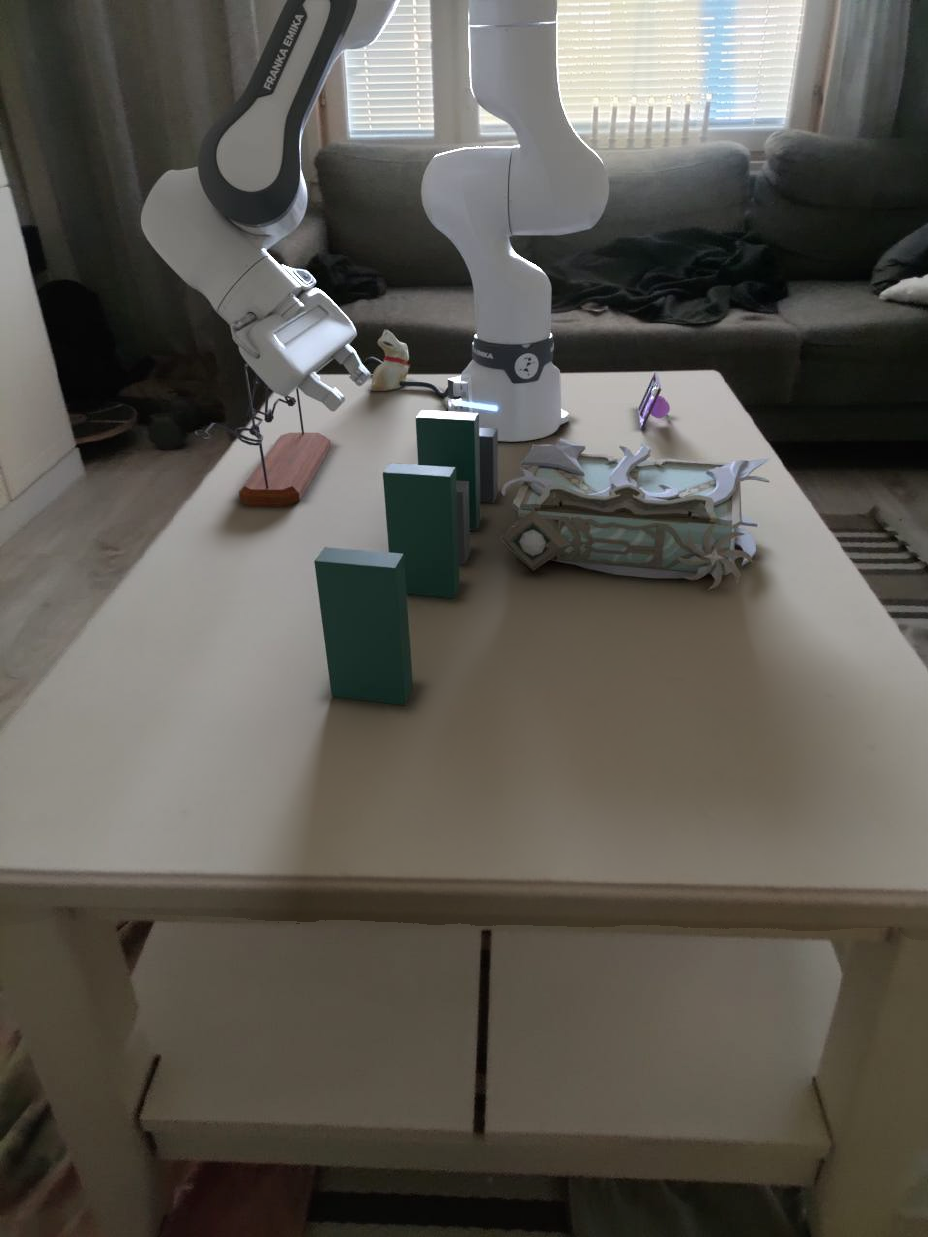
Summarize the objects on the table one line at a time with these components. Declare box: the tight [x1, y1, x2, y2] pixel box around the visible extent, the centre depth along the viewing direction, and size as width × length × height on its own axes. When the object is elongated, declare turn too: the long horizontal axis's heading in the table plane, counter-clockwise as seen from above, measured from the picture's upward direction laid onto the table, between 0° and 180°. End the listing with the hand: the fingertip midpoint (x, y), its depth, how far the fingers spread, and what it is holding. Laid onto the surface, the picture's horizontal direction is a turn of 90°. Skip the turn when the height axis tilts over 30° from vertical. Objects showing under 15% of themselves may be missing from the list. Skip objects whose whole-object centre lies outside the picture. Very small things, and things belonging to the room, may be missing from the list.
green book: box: [415, 409, 482, 531], centre depth 107 cm, size 3×7×14 cm, turn 77°
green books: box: [313, 462, 461, 706], centre depth 85 cm, size 22×7×14 cm, turn 167°
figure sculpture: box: [194, 362, 331, 507], centre depth 117 cm, size 35×9×25 cm, turn 175°
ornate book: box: [499, 437, 771, 591], centre depth 103 cm, size 23×10×30 cm
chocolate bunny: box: [370, 329, 411, 392], centre depth 156 cm, size 6×8×10 cm
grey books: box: [456, 428, 499, 565], centre depth 108 cm, size 20×8×9 cm, turn 167°
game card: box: [637, 371, 671, 430], centre depth 139 cm, size 7×5×9 cm
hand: (353, 393), depth 104 cm, fingers open, 8 cm apart
